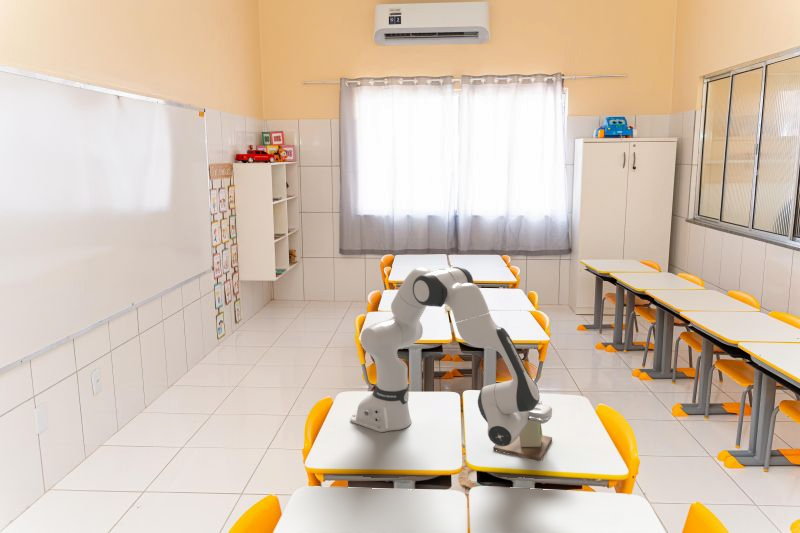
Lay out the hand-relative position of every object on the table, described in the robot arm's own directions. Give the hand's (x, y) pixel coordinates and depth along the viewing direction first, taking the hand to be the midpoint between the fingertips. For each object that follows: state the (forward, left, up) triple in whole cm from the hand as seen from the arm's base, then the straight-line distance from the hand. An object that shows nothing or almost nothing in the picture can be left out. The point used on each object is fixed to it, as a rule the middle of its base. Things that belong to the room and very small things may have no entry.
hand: (525, 400), depth 213 cm
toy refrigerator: (+3, -1, -14) cm, 15 cm away
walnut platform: (0, -1, -16) cm, 16 cm away
